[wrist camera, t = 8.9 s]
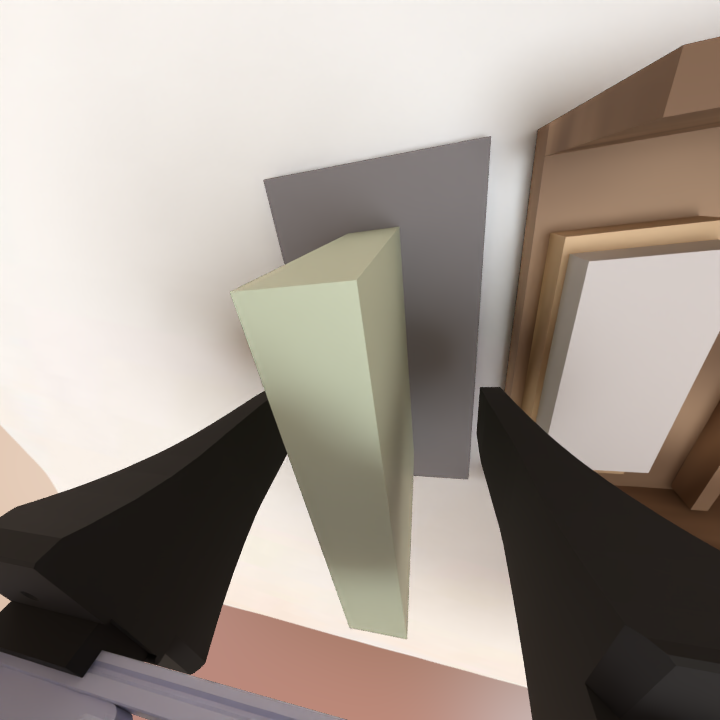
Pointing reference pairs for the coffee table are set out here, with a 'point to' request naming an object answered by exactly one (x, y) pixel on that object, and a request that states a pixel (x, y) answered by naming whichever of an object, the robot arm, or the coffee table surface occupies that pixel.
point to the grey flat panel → (412, 270)
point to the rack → (634, 205)
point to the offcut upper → (628, 349)
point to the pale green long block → (344, 410)
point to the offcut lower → (590, 242)
